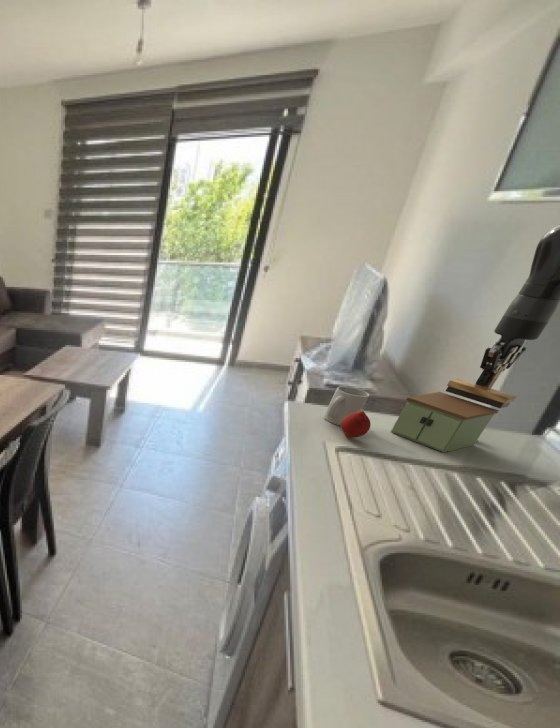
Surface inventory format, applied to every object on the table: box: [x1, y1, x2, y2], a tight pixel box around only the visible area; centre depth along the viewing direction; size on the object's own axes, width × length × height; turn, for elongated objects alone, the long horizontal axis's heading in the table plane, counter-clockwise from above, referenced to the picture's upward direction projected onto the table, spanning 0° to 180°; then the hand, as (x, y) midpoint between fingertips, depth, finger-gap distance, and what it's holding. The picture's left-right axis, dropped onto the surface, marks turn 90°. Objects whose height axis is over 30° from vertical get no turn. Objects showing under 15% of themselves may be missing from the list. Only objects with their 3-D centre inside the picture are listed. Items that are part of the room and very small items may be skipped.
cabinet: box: [390, 391, 499, 453], centre depth 124 cm, size 13×15×10 cm
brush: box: [445, 363, 518, 409], centre depth 121 cm, size 12×4×9 cm, turn 22°
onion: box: [340, 409, 371, 439], centre depth 122 cm, size 6×6×8 cm
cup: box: [323, 385, 370, 426], centre depth 131 cm, size 7×10×9 cm
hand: (483, 384), depth 121 cm, fingers closed on brush, 2 cm apart
